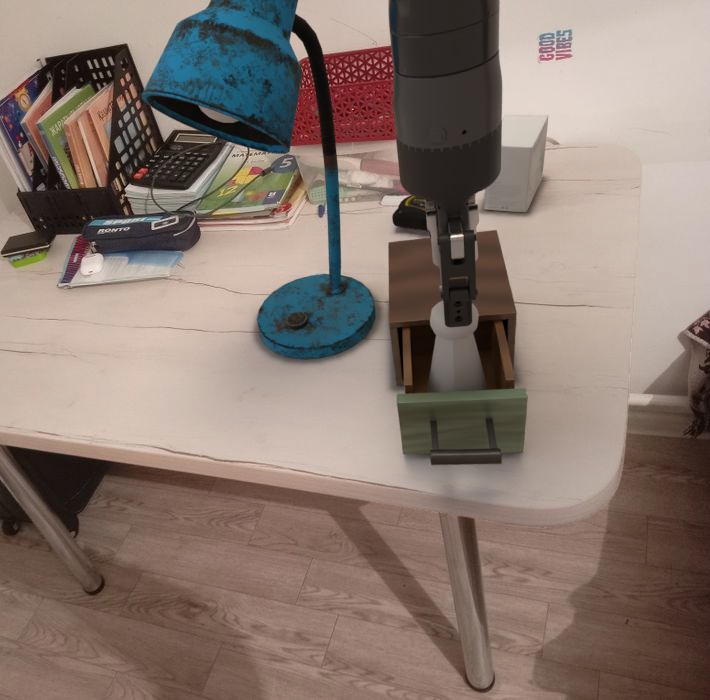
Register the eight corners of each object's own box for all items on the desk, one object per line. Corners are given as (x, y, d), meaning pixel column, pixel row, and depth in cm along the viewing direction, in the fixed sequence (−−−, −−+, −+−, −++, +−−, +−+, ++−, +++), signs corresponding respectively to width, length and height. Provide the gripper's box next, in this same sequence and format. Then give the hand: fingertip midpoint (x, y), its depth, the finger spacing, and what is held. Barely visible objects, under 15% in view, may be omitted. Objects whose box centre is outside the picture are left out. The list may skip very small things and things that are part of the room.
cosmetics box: (528, 213, 91) (533, 146, 84) (483, 210, 94) (484, 145, 87) (544, 178, 97) (550, 112, 90) (501, 176, 100) (503, 113, 93)
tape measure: (391, 232, 96) (389, 211, 93) (412, 209, 99) (410, 188, 97) (432, 239, 92) (431, 217, 89) (453, 215, 95) (452, 193, 93)
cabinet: (513, 379, 68) (516, 312, 62) (396, 385, 72) (388, 322, 66) (495, 293, 80) (496, 229, 73) (394, 302, 83) (388, 242, 77)
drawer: (532, 494, 57) (537, 440, 52) (404, 494, 60) (397, 443, 55) (503, 351, 71) (505, 297, 66) (400, 357, 74) (395, 307, 69)
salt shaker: (493, 390, 65) (495, 293, 57) (477, 430, 62) (477, 332, 54) (438, 379, 68) (433, 285, 60) (420, 416, 65) (412, 322, 57)
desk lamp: (210, 354, 84) (73, -9, 56) (315, 268, 93) (243, -82, 65) (295, 401, 74) (181, -17, 45) (404, 300, 83) (366, -102, 54)
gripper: (516, 155, 40) (510, 343, 50) (489, 76, 50) (489, 245, 60) (396, 174, 42) (414, 350, 52) (394, 94, 52) (409, 254, 62)
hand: (454, 293), depth 56 cm, fingers open, 8 cm apart
